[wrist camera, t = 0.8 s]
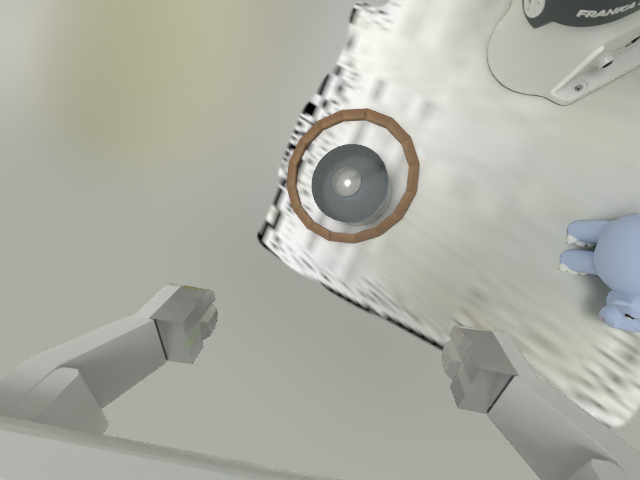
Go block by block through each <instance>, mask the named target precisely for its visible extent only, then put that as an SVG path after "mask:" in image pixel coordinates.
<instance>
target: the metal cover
mask: <svg viewBox="0 0 640 480" xmlns="http://www.w3.org/2000/svg"><path fill="white" fill-rule="evenodd" d="M312 193H313V197H314V200H315V202H316V204H317V206H318V207H319V209H320V210H321V211H322V212H323V213H324V214H326V215H327V216H328V217H330V218H332V219H334V220H338V221H341V222H345V223H349V224H352V225H364V224H368V223H371V222H373V221H375V220H376V219H378V218H379V217H380V216H381V215H382V214H383V213H384V212H385V211H386V209H387V207H388V205H389V203H390V200H391V185H390V181H389V177H388V174H387V170H386V167H385V165H384V163H383V161H382V159H381V158H380V157H379V156H378V155H377V154H376V153H375V152H374V151H373V150H371V149H369V148H368V147H365V146H362V145H357V144H347V145H342V146H339V147H337V148H335V149H333V150H331V151H330V152H328V153H327V154H326V155H325V156H324V157H323V158H322V159H321V160H320V162H319V163H318V165H317V167H316V169H315V171H314V174H313V178H312Z"/></svg>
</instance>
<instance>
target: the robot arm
mask: <svg viewBox="0 0 640 480" xmlns="http://www.w3.org/2000/svg"><path fill="white" fill-rule="evenodd" d="M487 55H488V63H489V67H490V69H491V71H492V73H493V75H494V76H495V78H496V79H497V80H498V81H499V82H500V83H501V84H503V85H504V86H505V87H507V88H509V89H511V90H513V91H516V92H519V93H524V94H531V95H539V96H544V97H546V98H547V99H549V100H551V101H553V102H555V103H557V104H560V105H568V104H571V103H573V102H575V101H577V100H578V99H580V98H582V97H584V96H586V95H588V94H589V93H591V92H593V91H595V90H597V89H598V88H600V87H602V86H604V85H606V84H608V83H609V82H611V81H613V80H615V79H617V78H619V77H620V76H622V75H624V74H626V73H628V72H629V71H631V70H633V69H635V68H637V67H639V66H640V0H512V3H511V6H510V8H509V10H508V11H507V12H506V14H505V15H504V17H503V18H502V19H501V21H500V22H499V23H498V25H497V26H496V28H495V30H494V31H493V33H492V36H491V38H490V41H489V45H488V54H487ZM575 88H579V90H580V91H576V90H575ZM214 300H215V294H214V291H212V290H208V289H202V288H197V287H191V286H185V285H184V286H183V285H177V284H172V283H170V284H167V285H165V286H164V287H163V288H162V289H161V290H160V291H159V292H158V293H157V294H156V295H155V296H154V297H153V298H152V299H151V300H150V301H148V302H147V303H146V304H145V305H144V306H143V307H142V308H141V309H140V310H139V311H138V312H137V313H136V314H135V315H134V316H126V317H124V318H122V319H120V320H117V321H115V322H113V323H110V324H108V325H105V326H103V327H101V328H99V329H96V330H94V331H91V332H89V333H87V334H84V335H82V336H80V337H78V338H75V339H73V340H70V341H68V342H66V343H63V344H61V345H59V346H56V347H54V348H52V349H49V350H47V351H45V352H42V353H40V354H38V355H35V356H33V357H31V358H28V359H27V360H26V361H24V362H23V363H22V364H20V365H19V366H18V367H16V368H15V369H14V370H12V371H11V372H10V373H8V374H7V375H6V376H5V377H4V378H2V379H1V380H0V480H339V479H334V478H329V477H323V476H318V475H313V474H308V473H303V472H297V471H292V470H287V469H281V468H276V467H271V466H266V465H260V464H255V463H250V462H245V461H239V460H234V459H229V458H223V457H218V456H212V455H208V454H202V453H197V452H192V451H187V450H180V449H176V448H170V447H165V446H160V445H155V444H150V443H144V442H139V441H134V440H128V439H123V438H118V437H112V436H107V435H103V433H104V432H105V431H106V429H107V428H108V420H107V418H106V416H105V415H104V413H103V411H102V408H104V407H105V406H106V405H108V404H109V403H110V402H112V401H113V400H115V399H116V398H118V397H119V396H120V395H122V394H123V393H124V392H126V391H127V390H129V389H130V388H131V387H133V386H134V385H136V384H137V383H138V382H140V381H141V380H143V379H144V378H145V377H147V376H148V375H149V374H151V373H152V372H154V371H155V370H157V369H158V368H159V367H161V366H162V365H164V364H165V363H166V362H167V361H174V362H181V363H188V364H193V362H194V361H195V359H196V358H197V356H198V354H199V353H200V351H201V350H202V348H203V342H202V340H204V339H206V338H207V337H209V336H210V335H211V334H212V332H213V330H214V328H215V325H216V322H217V315H218V313H217V308H216V307H215V306H214V305H213V304H212V303H213V302H214ZM450 335H451V338H452V340H450V341H448V342H447V343H445V346H444V348H443V353H442V361H443V367H444V370H445V373H446V374H447V375H448V376H449V377H450V378H451V379H452V380H453V381H452V383H451V385H450V387H451V391H452V393H453V396H454V399H455V402H456V405H457V408H460V409H465V410H470V411H475V412H480V413H485V414H487V416H488V417H489V419H490V420H491V421H492V422H493V423H494V424H495V426H496V427H497V428H498V429H499V430H500V432H501V433H502V434H503V435H504V436H505V438H506V439H507V440H508V441H509V442H510V444H511V445H512V446H513V447H514V448H515V449H516V451H517V452H518V453H519V454H520V455H521V457H522V458H523V459H524V460H525V461H526V462H527V464H528V465H529V466H530V467H531V469H532V470H533V471H534V472H535V473H536V475H537V476H538V477H539V478H540V479H541V480H640V452H639V451H637V450H636V449H635V448H634V447H632V446H631V445H630V444H628V443H627V442H626V441H624V440H623V439H622V438H620V437H619V436H618V435H616V434H615V433H614V432H613V431H611V430H610V429H609V428H607V427H606V426H605V425H603V424H602V423H601V422H599V421H598V420H597V419H595V418H594V417H593V416H591V415H590V414H589V413H588V412H586V411H585V410H584V409H582V408H581V407H580V406H578V405H577V404H576V403H574V402H573V401H572V400H570V399H569V398H568V397H566V396H565V395H564V394H562V393H561V392H560V391H559V390H557V389H556V388H555V387H553V386H552V385H551V384H549V383H548V382H547V381H544V380H540V379H539V378H538V376H537V375H536V373H535V372H534V370H533V369H532V367H531V366H530V364H529V363H528V361H527V360H526V358H525V357H524V356H523V354H522V353H521V351H520V350H519V348H518V347H517V345H516V344H515V342H514V341H513V339H512V338H511V336H510V335H509V334H507V333H506V332H502V331H494V330H485V329H478V328H471V327H463V326H455V327H453V328H452V330H451V332H450Z"/></svg>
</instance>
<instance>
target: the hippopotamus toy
mask: <svg viewBox="0 0 640 480" xmlns="http://www.w3.org/2000/svg"><path fill="white" fill-rule="evenodd" d="M567 233H568V236H567V241H566V243H567V244H573V243H575V245H576V246H578V247H585V246H586V245H587V246H588V247H593V246H594V245H595V244H596V243H597V245H596V248H595V252H593V251H584V250H568V251H566V252H564V253H563V254H562V255H561V257H560V262H561V263H560V265H559V270H560V271H562V272H567V271H568V272H569V273H570V274H573V275H578V274H581V275H586V274H587V273H589V274H594V275H599V277H600V278H601V280H602V281H603V282H604V283H605V284H606V285H607V286H608V287H609V288H611V289H612V290H611V291H610V292H609V293H608V295H607V298H606V303H607V305H606V306H605V307H603V308H602V309H601V310H600V312H599V317H600V319H601V320H602V321H603V322H605V323H606V324H607V325H608V326H610V327H613V328H617V329H621V330H626V331H630V332H639V333H640V213H635V214H631V215H627V216H624V217H622V218H620V219H618V220H616V221H592V220H581V221H576V222H573V223H572V224H570V225H569V227H568V230H567Z"/></svg>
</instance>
